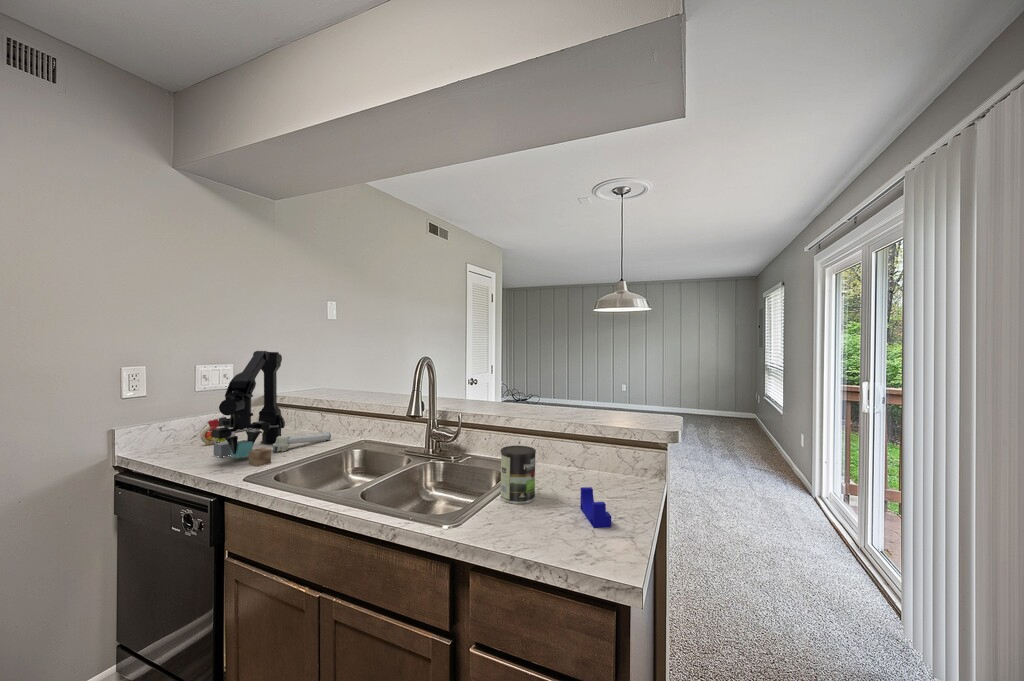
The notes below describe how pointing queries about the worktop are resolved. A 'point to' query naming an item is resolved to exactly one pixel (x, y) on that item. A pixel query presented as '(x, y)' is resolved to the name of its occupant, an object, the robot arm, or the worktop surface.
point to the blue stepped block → (594, 509)
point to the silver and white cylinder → (299, 440)
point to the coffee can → (518, 474)
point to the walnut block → (260, 456)
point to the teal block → (243, 449)
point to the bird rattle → (207, 435)
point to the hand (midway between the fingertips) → (241, 452)
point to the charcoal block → (222, 449)
